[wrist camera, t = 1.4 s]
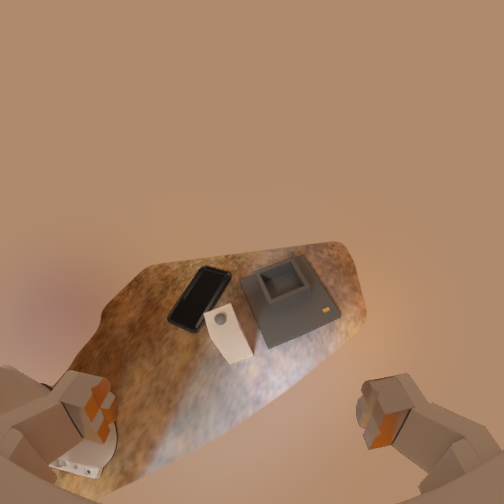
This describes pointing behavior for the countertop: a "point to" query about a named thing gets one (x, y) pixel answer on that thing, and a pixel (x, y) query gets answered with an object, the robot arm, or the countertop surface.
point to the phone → (199, 299)
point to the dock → (288, 300)
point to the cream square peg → (228, 334)
